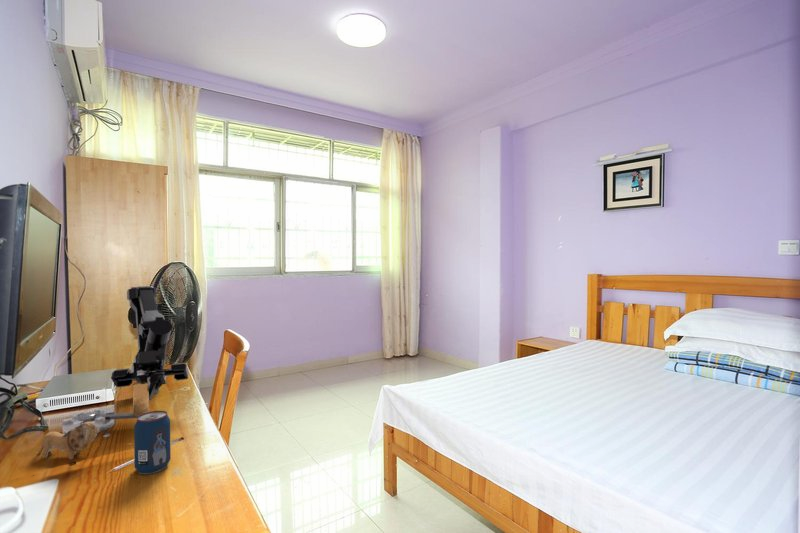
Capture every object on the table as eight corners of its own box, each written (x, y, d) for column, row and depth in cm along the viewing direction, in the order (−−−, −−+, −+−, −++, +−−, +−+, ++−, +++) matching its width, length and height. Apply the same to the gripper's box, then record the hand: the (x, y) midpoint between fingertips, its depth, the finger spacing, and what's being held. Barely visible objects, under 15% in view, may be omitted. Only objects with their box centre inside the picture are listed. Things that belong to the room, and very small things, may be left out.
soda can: (148, 459, 93) (147, 409, 92) (177, 460, 92) (176, 409, 92) (126, 475, 86) (126, 421, 86) (158, 476, 86) (157, 421, 85)
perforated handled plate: (51, 438, 100) (51, 393, 100) (80, 420, 111) (79, 380, 111) (138, 433, 103) (137, 389, 103) (157, 416, 114) (157, 377, 114)
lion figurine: (104, 454, 95) (103, 417, 95) (88, 466, 90) (87, 427, 90) (40, 456, 94) (39, 419, 94) (20, 468, 89) (19, 428, 89)
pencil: (184, 440, 103) (184, 437, 103) (106, 475, 86) (106, 472, 86) (182, 439, 104) (182, 437, 104) (104, 475, 87) (104, 471, 87)
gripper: (111, 342, 112) (98, 393, 102) (185, 336, 118) (180, 383, 108) (121, 362, 119) (111, 411, 109) (190, 355, 126) (186, 401, 116)
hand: (147, 401), depth 110 cm, fingers closed, pressing on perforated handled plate
